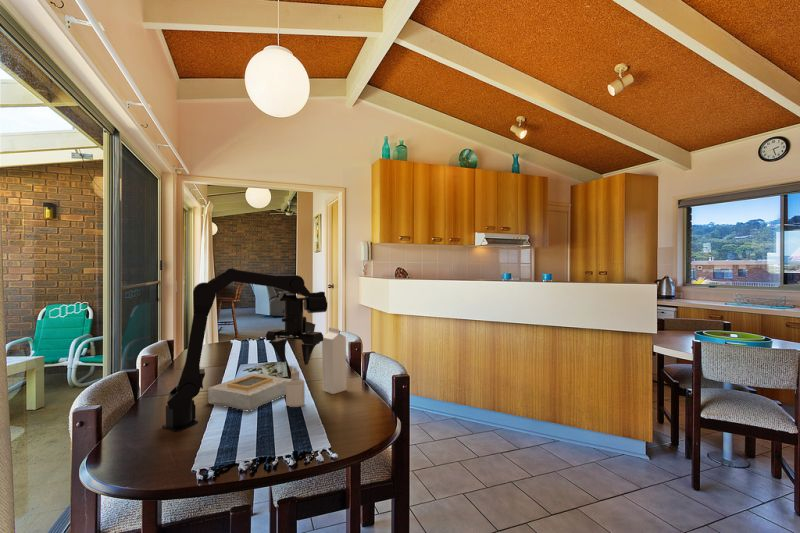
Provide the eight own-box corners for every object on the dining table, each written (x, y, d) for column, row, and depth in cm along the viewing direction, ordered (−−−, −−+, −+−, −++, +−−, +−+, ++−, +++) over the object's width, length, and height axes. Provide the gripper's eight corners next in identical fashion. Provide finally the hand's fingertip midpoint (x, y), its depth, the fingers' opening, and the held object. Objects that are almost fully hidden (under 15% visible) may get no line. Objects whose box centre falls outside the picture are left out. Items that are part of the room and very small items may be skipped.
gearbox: (249, 412, 113) (249, 392, 113) (208, 403, 121) (208, 385, 121) (300, 389, 134) (299, 373, 134) (262, 383, 142) (262, 367, 142)
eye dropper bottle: (297, 409, 115) (296, 370, 115) (283, 406, 118) (283, 368, 118) (306, 404, 119) (306, 366, 119) (293, 401, 122) (293, 364, 122)
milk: (332, 394, 128) (332, 330, 128) (322, 390, 132) (321, 328, 132) (346, 390, 133) (346, 328, 133) (336, 386, 137) (335, 326, 137)
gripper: (332, 312, 123) (333, 360, 123) (287, 310, 130) (288, 355, 130) (311, 316, 113) (312, 368, 113) (264, 314, 120) (265, 363, 120)
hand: (294, 363), depth 119 cm, fingers open, 9 cm apart
